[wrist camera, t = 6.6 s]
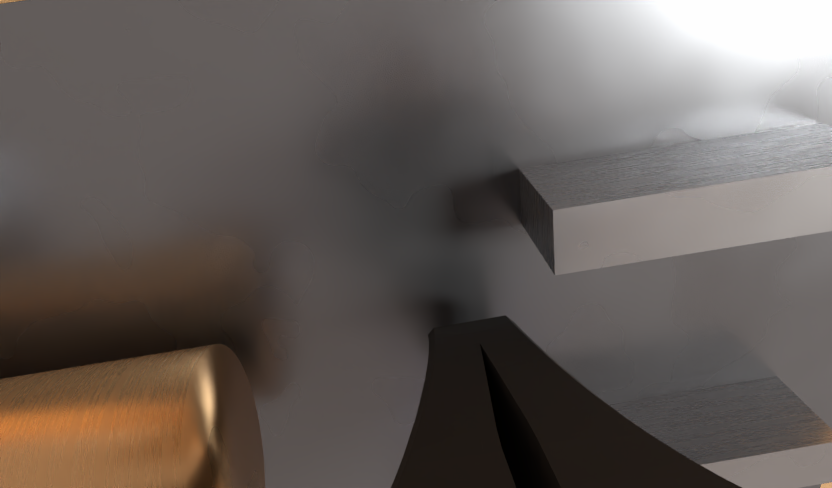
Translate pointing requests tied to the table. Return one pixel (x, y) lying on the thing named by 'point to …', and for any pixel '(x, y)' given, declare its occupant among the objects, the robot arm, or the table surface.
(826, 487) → the table surface
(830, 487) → the table surface
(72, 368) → the copper tube
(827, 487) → the table surface
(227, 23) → the firebox plate
